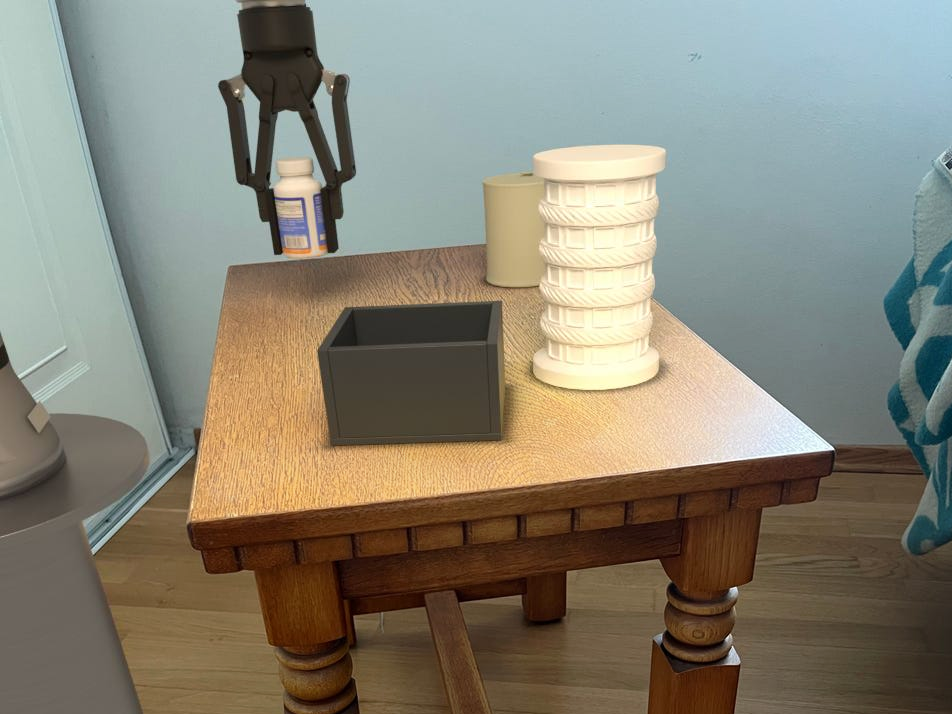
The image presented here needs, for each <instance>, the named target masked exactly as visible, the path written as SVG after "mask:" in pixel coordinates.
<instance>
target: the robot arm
mask: <svg viewBox="0 0 952 714" xmlns="http://www.w3.org/2000/svg"><path fill="white" fill-rule="evenodd" d="M235 2H237V4H239V3H240V4H241V9H238V13H237V14H236V17H237V23H238V29H239V35H240V36H239V38H240V42H241V50H242V55H243V62H242V67H241V69H240V73H239V74H238V75H235V76H233V77H231V78H227V79H222V80H220V81H218V83H217V89H218V91H219V93H220V96H221V97H222V99H223V101H224V104H225V106H226V112H227V121H228V127H229V128H228V129H229V135H230V143H231V150H232V160H233V166H234V174H235V179H236V182H237V184H238V185H240V186H246V187H249V188H251V189H253V191H254V192H255V196H256V203H257V208H258V215H259V216H258V217H259V219H260V221H261V223H269V230H270V237H271V243H272V249H273V256H281V255H283V251H282V245H281V238H280V231H279V225H278V218H277V211H276V205H275V198H274V187H271V188H270V186H271V185H272V182H271V174H272V167H273V166H272V163H273V156H274V145H275V137H276V136H275V135H276V125H277V121H278V116H279V113H281V112H285V111H288V112H293V113H294V112H295V113H296V112H298V115H299V118H300V120H301V121H302V123H303V125H304V128H305V130H306V134H307V136H308V139H309V142H310V144H311V147H312V149H313V152H314V155H315V158H316V160H317V162H318V165H319V168H320V170H321V173H322V177H323V178H324V181H325V185H324V186H322V189H320V192H321V200H322V208H323V217H324V225H325V233H326V241H327V249H328V254H335V253H336V252H337V251H338V250H339V249H340V248H339V238H338V231H337V229H338V228H337V222H336V221H337V220H341V219H342V218H343V217H344V212H345V211H344V203H343V193H342V186H343V184H345V183H348V182H349V181H351V180H353V179H354V178H355V176H357V167H356V159H355V151H354V146H353V138H352V137H353V136H352V128H351V122H350V114H349V107H348V95H349V89H350V82H351V79H350V76H349V75H348V74H346V73H340V74H339V73H336V72H333V71H330V70H327V69H325V67H324V65H323V63H322V62H321V59H320V58H319V54H318V46H317V39H316V29H315V21H314V12H313V10H311V7H310V6H307V3H306V0H235ZM322 83H324V85H325V89H326V93H327V94H328V96H330V97H331V108H332V109H331V110H332V117H333V122H334V123H333V124H334V131H335V138H336V144H337V152H338V158H339V166H340V170H339V169H338V167H337V164H336V161H335V158H334V156H333V154H332V153H333V152H332V151H331V147H330V145H329V142H328V139H327V137H326V134H325V131H324V129H323V126H322V123H321V120H320V117H319V114H318V113H319V112H318V108H317V107H316V104H315V100H314V98H315V96H316V94H317V92H318V90H319V88H320V86H321V84H322ZM246 86H247V88H249V90H250V91H251V93H252V94H253V95H254V96H255V98H256V99H257V100H258V101H259V108H258V134H257V143H256V154H255V162H254V163H255V164H254V172H253V168H252V160H251V151H250V144H249V143H250V142H249V135H248V127H247V126H248V125H247V118H246V111H245V104H244V102H243V101H244V100H243V99H245V97H246V91H245V90H246V89H245V88H246ZM49 414H50V413H49V412H48V410H47V409H46V408H45V406H44V405H43V403H42V402H41V400H39V401H38V402H37V401H36V400H35V397H33V396H32V394H31V393H30V391H29V390H28V389H27V387H26V386H25V384H24V383H23V382H22V380H21V378H20V377H19V376H18V374H17V373H16V372H15V370H14V367H13V365H12V363H11V360H10V357H9V353H8V350H7V348H6V345H5V342H4V339H3V335H2V331H0V501H1V500H4V499H7V498H9V497H12V496H15V495H17V494H20V493H22V492H25V491H27V490H29V489H31V488H33V487H35V486H37V485H39V484H41V483H42V482H44V481H46V480H47V479H49V478H50V477H51V476H53V475H54V474H55V473H56V472H57V471H58V470H59V469H60V468H61V467H62V465H63V464H64V462H65V458H66V457H65V452H64V449H63V446H62V443H61V440H60V437H59V435H58V434H57V432H56V430H55V428H54V426H53V425H52V424H51V423H50V422H49V418H50V415H49Z"/></svg>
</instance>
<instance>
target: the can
mask: <svg viewBox="0 0 952 714" xmlns="http://www.w3.org/2000/svg"><path fill="white" fill-rule="evenodd" d="M482 189H483V191H482V192H483V201H484V202H483V205H484V206H483V207H484V223H485V224H484V225H485V226H484V227H485V244H486V245H485V246H486V278H485V279H486V282H487V283H488V284H490V285H493V286H496V287H502V288H531V287H540V282H541V278H542V276H544V275H545V262H544V261H543V260H542V259H541V258H540V252H539V245H540V241H541V238H543V237H544V236H545V231H544V221H542V220H541V219H540V215H539V211H538V206H539V202H540V199H541V198H543V197H544V178H541V177H538V176H536V175H535V174H534V172H533V171H520V173H519V172H517V173H507V174H506V173H505V174H499V175H494V176H490V177H486V178H484V179H483V180H482Z"/></svg>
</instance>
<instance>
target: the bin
mask: <svg viewBox="0 0 952 714" xmlns="http://www.w3.org/2000/svg"><path fill="white" fill-rule="evenodd" d="M503 314H504V313H503V300H484V301H483V300H482V301H480V300H479V301H460V302H459V301H458V302H457V301H456V302H438V303H437V302H435V303H414V304H410V303H409V304H390V305H386V304H385V305H365V306H345V307H344V308H343V310H342V311H341V312H340V314H339V316H338V317H337V319H336V321H335V322H334V323H333V325H332V326H331V328H330V329H329V331H328V333H327V335H326V336H325V337H324V339H323V341H322V342H321V343H320V345H319V346H318V348H317V349H316V354H317V360H318V366H319V374H320V381H321V387H322V394H323V400H324V406H325V407H324V408H325V414H326V421H327V427H328V435H329V440H330V445H331V446H335V447H336V446H361V445H364V446H365V445H366V446H367V445H392V444H395V445H397V444H421V443H422V444H424V443H453V442H483V441H484V442H488V441H502V439H503V424H504V411H505V410H504V409H505V396H506V369H505V366H506V365H505V343H504V342H505V341H504V339H505V338H504V317H503V316H504V315H503Z"/></svg>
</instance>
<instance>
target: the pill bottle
mask: <svg viewBox="0 0 952 714" xmlns="http://www.w3.org/2000/svg"><path fill="white" fill-rule="evenodd" d="M314 165H315V164H314V161H313V158H312V157H308V156H296V157H283V158H279V159H276V160H275V169H276V173H277V176H279V181H277V182H276V183H275V184H274V186H273V188H274V198H275V205H276V211H277V218H278V225H279V231H280V238H281V245H282V251H283V253H282V255H283V256H284V257H286V258H288V259H295V260H298V259H300V260H301V259H313V258H319V257H320V258H321V257H323V256H326V255H328V254H329V253H328V249H327V241H326V233H325V225H324V217H323V208H322V200H321V192H320V189H322V188H323V184H322V182H320V180H318V179H317V178H314V176H313V174H314V173H315V167H314Z"/></svg>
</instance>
